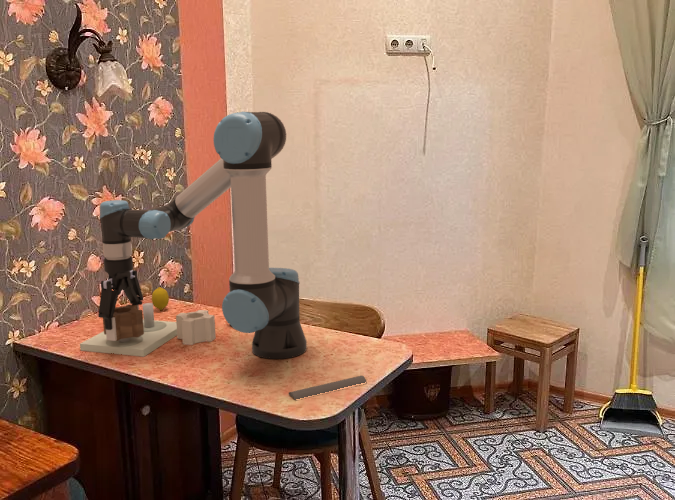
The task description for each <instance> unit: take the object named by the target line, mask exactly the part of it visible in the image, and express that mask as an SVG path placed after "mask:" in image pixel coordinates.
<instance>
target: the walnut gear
mask: <svg viewBox="0 0 675 500" xmlns="http://www.w3.org/2000/svg"><path fill="white" fill-rule="evenodd" d="M113 317H115V323H116V335H117V340H116V341H118V340H120V339H124V338H130V337H140V336H141V335H143V334H144V327H143V319H144V317H143V309H139V310H138V305H132V304H127V305H123V306H116V307H115V310H114V314H113ZM102 326H103V331H104V334H106V329H105V321H104V318H102Z"/></svg>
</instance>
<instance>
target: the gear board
mask: <svg viewBox="0 0 675 500" xmlns="http://www.w3.org/2000/svg"><path fill="white" fill-rule="evenodd" d="M154 313H155V312H154V305H153V303H152V302H145V303H142V314H143V327H144V334H143V335H141V336H140V337H130V338H124V339H120V340H118V341H111V340H107V338H106V334H104V330H103V331H101V332H99V333H98V334H96V335H93V336H91V337H90V338H87V339H86V340H84V341H83V342H80V343H79V349H80V351H82V352H92V353H101V354H111V353H112V355H113V353H114V355H121V354H122V355H123V356H130V357H131V356H134V357H141V358H142V357H146V356H147V355H149V354H150V353H152V352H153V351H155V350H156V349H158V348H160V347H161V346H163V345H164V344H166V343H168V342H169V341H170V340H171V339H173V338H175V337H177V324H176V321H170V320H169V321H168V320H155V315H154Z"/></svg>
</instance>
